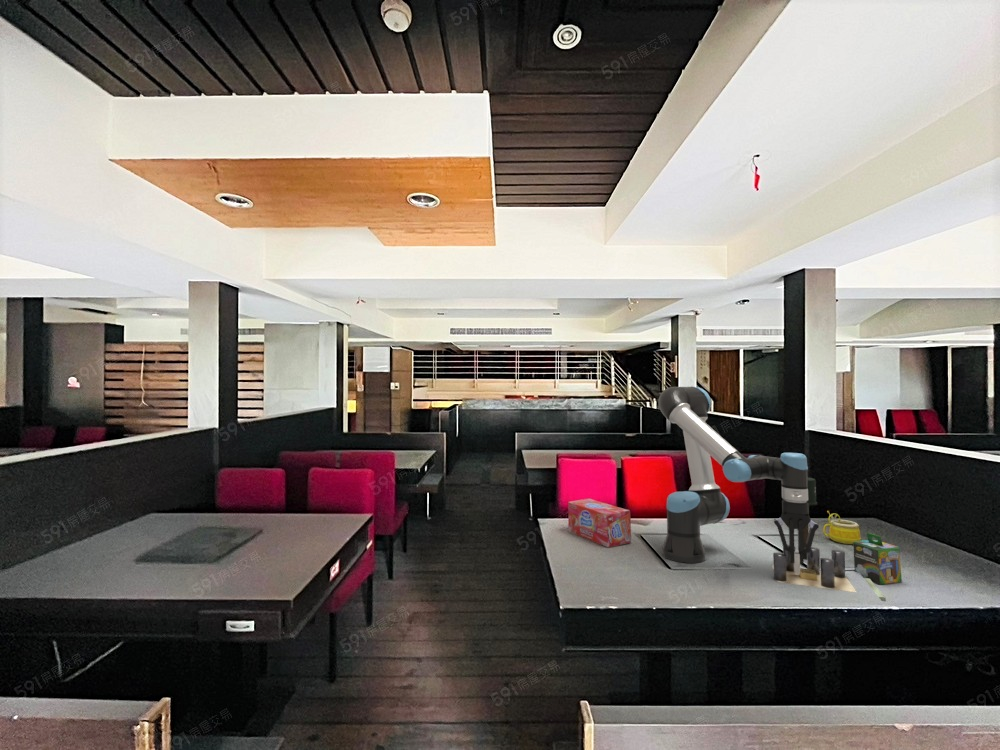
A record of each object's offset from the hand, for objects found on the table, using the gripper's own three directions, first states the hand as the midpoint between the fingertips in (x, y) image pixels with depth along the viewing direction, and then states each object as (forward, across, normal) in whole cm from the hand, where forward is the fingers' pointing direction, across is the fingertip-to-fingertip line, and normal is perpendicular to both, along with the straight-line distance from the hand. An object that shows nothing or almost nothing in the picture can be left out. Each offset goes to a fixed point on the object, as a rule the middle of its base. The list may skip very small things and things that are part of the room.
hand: (797, 572), depth 161 cm
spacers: (+1, +4, 0) cm, 4 cm away
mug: (+3, +23, +56) cm, 61 cm away
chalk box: (+3, +24, +12) cm, 28 cm away
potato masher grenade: (+3, +5, +23) cm, 24 cm away
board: (+3, +8, 0) cm, 8 cm away
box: (+3, -70, +21) cm, 74 cm away
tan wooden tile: (+1, +3, 0) cm, 3 cm away
